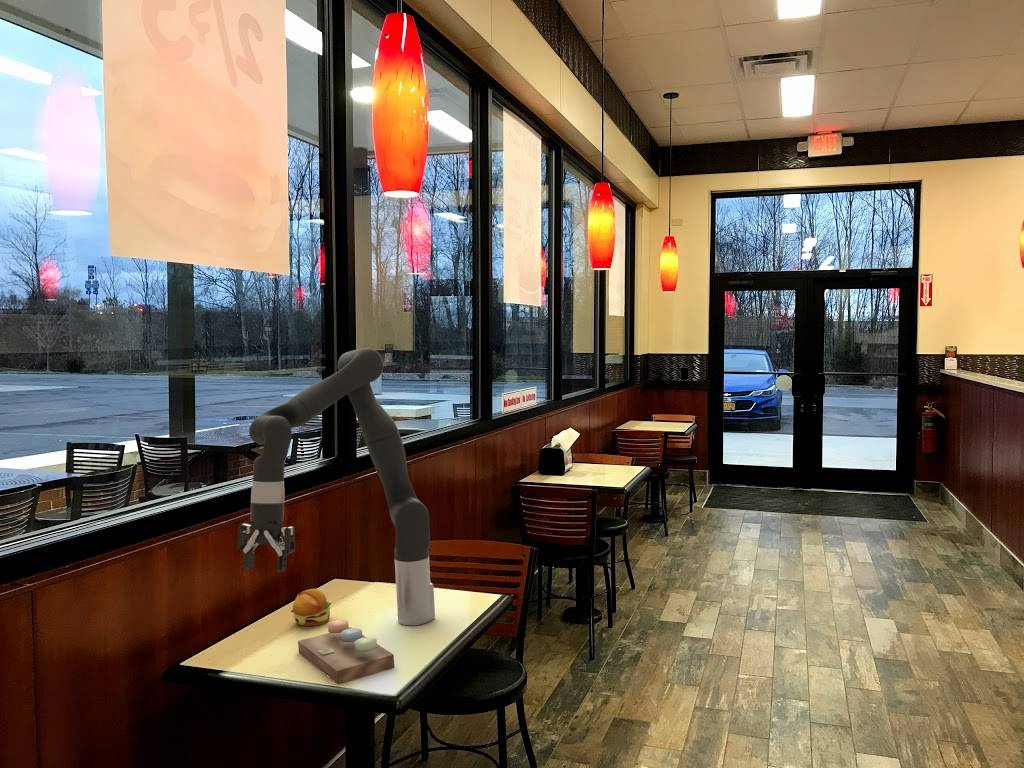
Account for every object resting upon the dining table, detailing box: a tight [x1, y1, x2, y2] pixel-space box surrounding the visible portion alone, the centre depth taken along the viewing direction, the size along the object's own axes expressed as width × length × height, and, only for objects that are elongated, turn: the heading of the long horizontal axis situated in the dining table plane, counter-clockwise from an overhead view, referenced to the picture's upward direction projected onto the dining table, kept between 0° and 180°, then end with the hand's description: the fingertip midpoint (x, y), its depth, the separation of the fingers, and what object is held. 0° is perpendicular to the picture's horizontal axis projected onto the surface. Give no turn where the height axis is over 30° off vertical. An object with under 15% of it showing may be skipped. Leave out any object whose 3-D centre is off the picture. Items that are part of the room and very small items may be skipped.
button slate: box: [341, 627, 363, 642], centre depth 194 cm, size 5×5×2 cm
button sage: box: [355, 636, 378, 652], centre depth 187 cm, size 5×5×2 cm
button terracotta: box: [327, 619, 350, 633], centre depth 201 cm, size 5×5×2 cm
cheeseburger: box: [290, 588, 332, 627], centre depth 221 cm, size 10×11×10 cm
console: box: [297, 626, 395, 685], centre depth 193 cm, size 14×24×3 cm, turn 35°
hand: (264, 570), depth 189 cm, fingers open, 8 cm apart
